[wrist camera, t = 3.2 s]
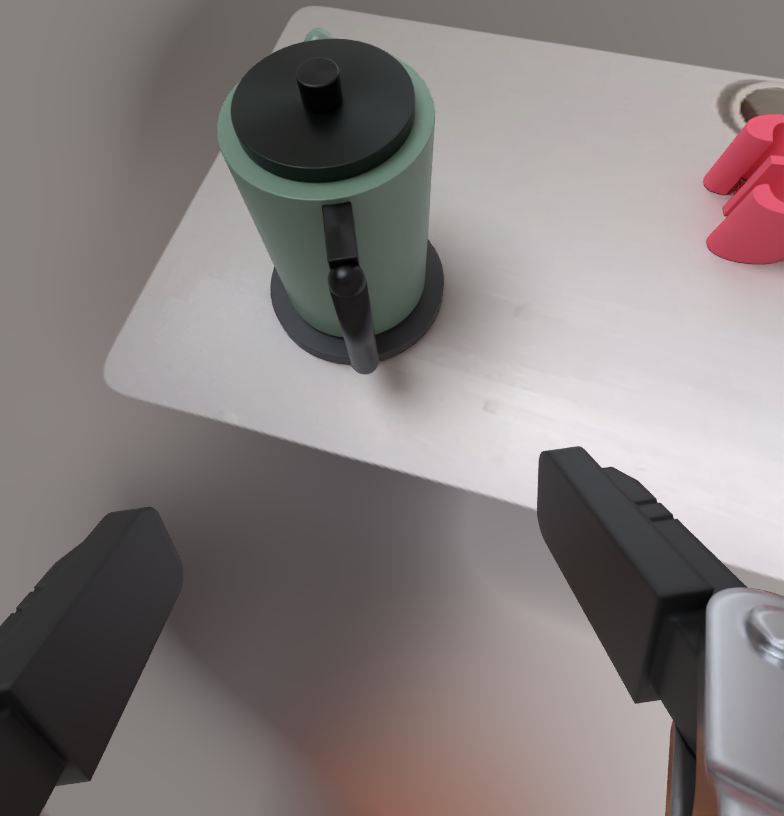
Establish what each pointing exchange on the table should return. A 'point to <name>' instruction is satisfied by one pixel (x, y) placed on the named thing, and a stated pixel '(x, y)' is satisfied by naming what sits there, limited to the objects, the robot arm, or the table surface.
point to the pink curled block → (751, 194)
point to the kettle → (337, 181)
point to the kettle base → (386, 341)
